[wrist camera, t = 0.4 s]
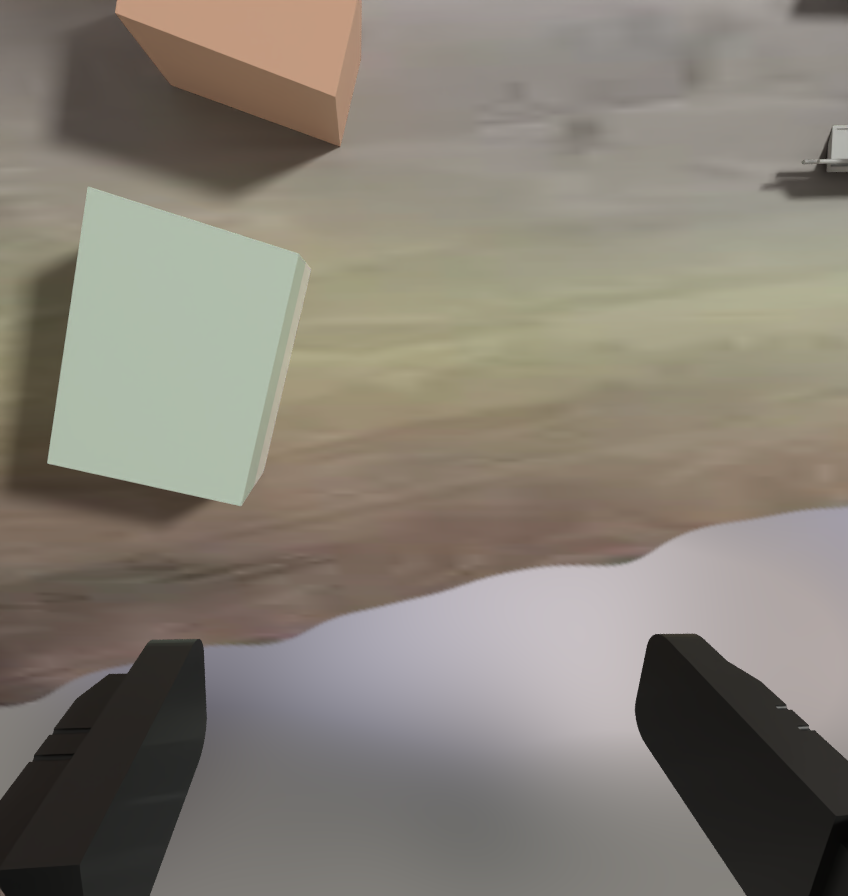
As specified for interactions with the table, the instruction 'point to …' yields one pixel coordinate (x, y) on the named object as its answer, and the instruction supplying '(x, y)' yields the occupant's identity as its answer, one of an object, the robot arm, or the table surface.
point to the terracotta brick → (258, 55)
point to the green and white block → (174, 351)
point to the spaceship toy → (835, 151)
